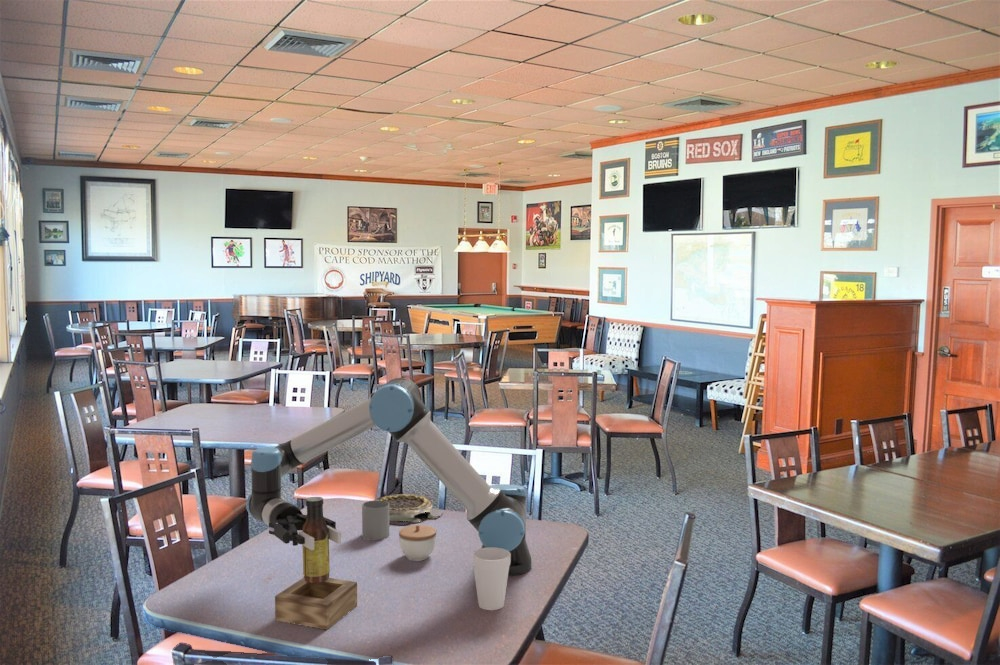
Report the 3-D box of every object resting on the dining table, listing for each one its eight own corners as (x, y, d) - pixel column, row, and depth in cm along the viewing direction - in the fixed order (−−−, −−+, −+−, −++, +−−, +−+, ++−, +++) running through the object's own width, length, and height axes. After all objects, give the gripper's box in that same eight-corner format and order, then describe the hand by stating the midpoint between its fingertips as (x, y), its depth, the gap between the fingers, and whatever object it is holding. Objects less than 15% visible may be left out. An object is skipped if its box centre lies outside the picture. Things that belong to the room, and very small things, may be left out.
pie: (345, 520, 259) (345, 505, 259) (386, 499, 285) (386, 485, 284) (421, 531, 249) (421, 516, 249) (456, 508, 275) (456, 494, 274)
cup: (383, 541, 239) (383, 509, 238) (358, 539, 240) (358, 507, 239) (392, 532, 247) (392, 501, 246) (368, 530, 248) (368, 499, 248)
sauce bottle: (334, 579, 188) (334, 499, 186) (312, 587, 183) (312, 504, 182) (319, 572, 192) (319, 493, 191) (297, 579, 188) (297, 498, 186)
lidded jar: (413, 566, 218) (412, 534, 217) (391, 556, 226) (391, 524, 225) (443, 557, 225) (443, 526, 224) (421, 547, 233) (421, 517, 232)
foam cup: (496, 616, 187) (497, 563, 186) (465, 607, 192) (465, 556, 191) (517, 602, 195) (517, 551, 194) (486, 593, 200) (486, 544, 199)
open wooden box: (357, 605, 193) (357, 582, 192) (326, 630, 179) (326, 605, 179) (308, 597, 197) (308, 574, 197) (275, 620, 184) (274, 596, 184)
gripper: (316, 523, 207) (361, 547, 189) (246, 538, 194) (288, 566, 177) (316, 495, 206) (361, 517, 189) (246, 509, 194) (288, 534, 176)
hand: (326, 541), depth 183 cm, fingers closed on sauce bottle, 6 cm apart
